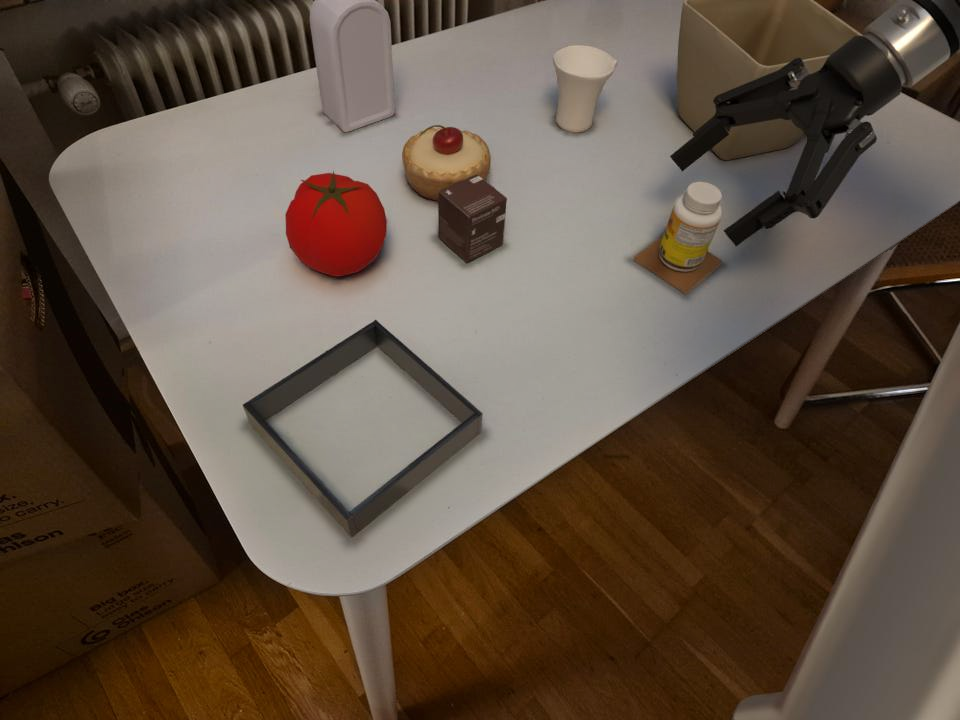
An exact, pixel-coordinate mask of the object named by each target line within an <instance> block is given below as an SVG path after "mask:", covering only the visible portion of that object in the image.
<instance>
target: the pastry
mask: <svg viewBox="0 0 960 720" xmlns="http://www.w3.org/2000/svg"><path fill="white" fill-rule="evenodd" d="M401 159H402V164H403V169H404V173H405V177H406V178H407V181H408V183H409V185H410V186H411V188H412V189H413V190H414V191H415V192H417V193H418V194H419V195H420V196H421V197H423V198H426V199H429V200H432V201H438V198H439V191H440V190H442V189H444V188H447V187H449V186H451V185H453V184H454V183H456V182H458V181H462V180H465V179H467V178H469V177H472V176H474V175H478V176H480V177H481V178H482V179H484V180H485V181H486V179H487V177H488V176H489V173H490V169H491V164H492V157H491V152H490V148H489V147H488V143H486V141H485V140H484V139H483V138H482V137H481V136H479V135H478V134H477V133H472V132H470V131H468V130H461V129H459V128H458V127H454V126H444V125H441V124H434V125H430V126H429V127H427V128H426V129H424V130H420V131H419V132H418V133H417V134H415V135H411V136H410V137H409V139H408V140H407V141H406V142H405V144H404V145H403V148H402V153H401Z"/></svg>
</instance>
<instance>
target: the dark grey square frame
mask: <svg viewBox="0 0 960 720" xmlns="http://www.w3.org/2000/svg"><path fill="white" fill-rule="evenodd" d="M375 348H379V349H380V350H381V351H382V352H383V353H384V354H385V355H386V356H388V358H389V359H391V360H392V361H393V362H394V363H395V364H396V365H397V366H399V367H400V368H401V369H402V370H403V371H404V372H405V373H406V374H407V375H408V376H409V377H411V378H412V379H413V380H414V381H415V382H416V383H417V384H418V385H420V386H421V387H422V388H423V389H424V390H425V391H426V392H428V394H430V395H431V396H432V397H433V398H434V399H435V400H436V401H437V402H438V403H440V404H441V405H442V406H443V407H444V408H445V409H446V410H448V411H449V413H451V414H452V415H453V416H454V417H455V418H456V419H458V420H459V421H460V422H461V423H460V424H459V425H457V426H456V427H455V428H454V429H452V430H451V431H450V432H449V433H447V434H446V435H444V436H443V437H442V438H441V439H440V440H438V441H437V442H436V443H435V444H433V445H432V446H431V447H430V448H428V449H427V450H426V451H424V452H423V453H422V454H421V455H419V456H418V457H417V458H416V459H414V460H413V461H412V462H410V463H409V464H408V465H406V467H404V468H403V469H402V470H400V471H399V472H397V474H395V475H394V476H393V477H392V478H390V479H389V480H388V481H386V482H385V483H384V484H382V485H381V486H380V487H379V488H377V489H376V490H375V491H373V493H371V494H370V495H369V496H367V497H366V498H365V499H363V500H362V501H361V502H360V503H359V504H357V505H356V506H355V507H354V508H352V509H351V510H350V511H349V510H348V509H347V508H346V507H345V506H344V505H343V504H342V503H341V501H340V500H338V498H337V497H336V496H335V495H334V494H333V493H332V492H331V491H330V490H329V489H328V487H327V486H326V485H325V484H324V483H323V482H322V481H321V479H320V478H319V477H318V476H317V475H316V474H315V473H314V472H313V471H312V470H311V469H310V468H309V467H308V466H307V464H306V463H304V461H303V460H302V459H301V458H300V457H299V456H298V455H297V453H296V452H295V451H294V450H293V449H292V448H291V447H290V446H289V445H288V444H287V443H286V442H285V441H284V439H283V437H281V436H280V435H279V434H278V433H277V432H276V430H274V428H273V427H272V426H271V425H270V424H269V423H268V422H267V420H268V419H270V418H271V417H273V416H274V415H277V413H279V412H280V411H282V410H284V408H285V409H286V407H288V406H290V405H291V404H292V403H294V402H295V401H297V400H298V399H300V398H301V397H303V396H305V395H306V394H308V393H309V392H310V391H312V390H313V389H315V388H317V387H318V386H320V385H321V384H323V383H324V382H326V381H327V380H329V379H331V378H332V377H333V376H335V375H336V374H338V373H339V372H340V371H342V370H344V369H345V368H346V367H349V366H350V365H352V364H353V363H355V361H357V360H360V358H362V357H363V356H365V355H367V354H368V353H370V352H372V351H373V350H374V349H375ZM242 408H243V410H244V413H245V415H246V418H247V420H248V422H249V425H250V427H252V429H253V430H254V431H255V432H256V433H257V434H258V435H259V436H260V438H262V440H263V441H264V442H265V443H266V444H267V445H268V446H269V447H270V448H271V450H272V451H273V452H274V453H275V454H276V455H277V457H279V459H280V460H281V461H282V462H283V463H284V464H285V465H286V466H287V468H288V469H289V470H290V471H291V472H292V473H293V474H294V475H295V476H296V477H297V479H298V480H299V481H300V482H301V483H302V485H304V486H305V488H306V489H307V490H308V491H309V492H310V494H312V496H313V497H314V498H315V499H316V500H317V501H318V502H319V503H320V505H322V507H323V508H324V509H325V510H326V511H327V512H328V513H329V515H331V516H332V518H333V519H334V520H335V521H336V522H337V523H338V525H340V526H341V527H342V529H343V530H344V531H345V532H346V533H347V534H348V535H349V537H350V538H353V537H354V536H356V535H357V534H358V533H359V532H361V531H362V530H363V529H365V528H366V527H367V526H368V525H369V524H370V523H372V522H373V521H374V520H376V519H377V518H378V517H379V516H381V515H382V514H383V513H384V512H385V511H386V510H388V509H389V508H390V507H392V506H393V505H394V504H395V503H396V502H397V501H399V500H400V499H401V498H402V497H404V496H405V495H406V494H407V493H409V492H410V491H411V490H412V489H413V488H415V487H416V486H417V485H418V484H420V483H421V482H422V481H423V480H425V479H426V478H427V477H428V476H429V475H431V474H432V473H433V472H434V471H436V470H437V469H438V468H439V467H441V466H442V465H443V464H444V463H446V461H448V460H450V458H451V457H452V456H454V455H455V454H457V453H458V452H459V451H460V450H462V448H464V447H465V446H466V445H468V444H469V443H470V442H471V441H473V440H474V439H475V438H476V437H477V436H479V434H481V433H482V425H483V423H482V422H483V414H484V413H483V412H482V411H481V410H480V409H478V408H477V407H476V406H475V405H474V404H473V403H472V402H470V401H469V400H468V399H467V398H466V397H465V396H464V395H463V394H462V393H460V392H459V391H458V390H456V389H455V387H453V386H452V385H451V384H450V383H449V382H447V381H446V380H445V379H444V378H443V377H442V376H441V375H440V374H439V373H437V372H436V371H435V370H434V369H433V368H431V367H430V366H429V365H428V364H427V363H426V362H425V361H423V359H421V358H420V357H419V356H418V355H417V354H416V353H414V352H413V350H411V349H410V348H409V347H408V346H406V345H405V344H404V343H403V342H402V341H400V339H399V338H398V337H396V335H394V334H393V333H392V332H391V331H389V330H388V329H387V328H386V327H385V326H384V325H383V324H382V323H380V322H379V321H378V320H377V319H375V320H373V321H372V322H370V323H368V324H367V325H365V326H364V327H362V328H361V329H359V330H357V331H356V332H354V333H352V334H351V335H349V336H348V337H346V338H344V339H343V340H342V341H340V342H338V343H337V344H335V345H334V346H332V347H330V348H329V349H328V350H326V351H325V352H323V353H321V354H319V355H318V356H316V357H315V358H313V359H311V360H310V361H309V362H307V363H305V364H304V365H303V366H301V367H299V368H298V369H296V370H294V371H293V372H291V373H290V374H288V375H287V376H285V377H284V378H282V379H281V380H279V381H277V382H275V383H274V384H273V385H271V386H269V387H268V388H266V389H265V390H263V391H262V392H260V393H259V394H257V395H255V396H254V397H252V398H251V399H249V400H248V401H246V402H244V403H243V404H242Z"/></svg>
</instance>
